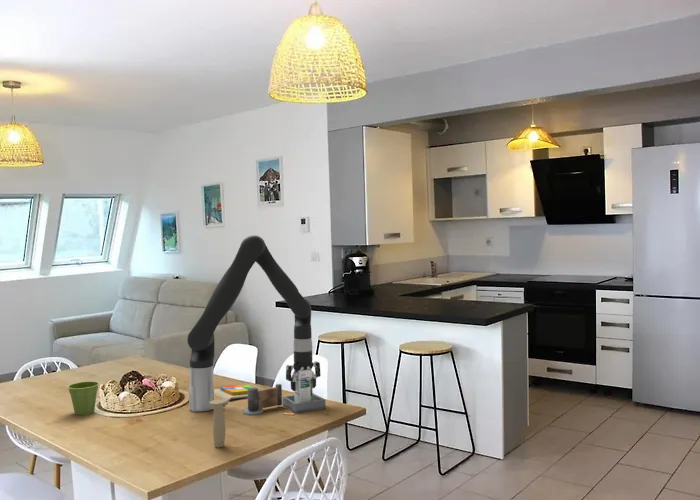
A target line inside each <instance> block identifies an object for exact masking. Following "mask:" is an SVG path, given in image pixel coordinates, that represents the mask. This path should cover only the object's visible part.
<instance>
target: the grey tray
mask: <svg viewBox="0 0 700 500" xmlns="http://www.w3.org/2000/svg"><path fill="white" fill-rule="evenodd" d="M282 406H283V407H285V408H286V409H287V410H290V411H291V412H292V413H294V414H300V413H305V412H311V411H317V410H322V409H326V399H325V398H323V397H321V396H319V395H318V394H315V393H314V392H313V401H309V402H303V403H295V398H294V394H291V395H285V396H284V395H283V396H282Z"/></svg>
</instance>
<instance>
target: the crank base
mask: <svg viewBox="0 0 700 500" xmlns="http://www.w3.org/2000/svg"><path fill="white" fill-rule="evenodd" d="M263 413H264V408H261V409H258V410H256V411H249V410H248V407H247V408H245V409H243V410H242V414H244V415H246V416H254V415H255V416H256V415H260V414H263ZM283 415H286V416H295V413H294V412H292V413H291V412H283Z"/></svg>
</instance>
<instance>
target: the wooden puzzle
mask: <svg viewBox="0 0 700 500" xmlns="http://www.w3.org/2000/svg"><path fill="white" fill-rule="evenodd" d="M249 388H258V390H263V389H264V388H261V387H259V386H256V385H254V384H252V383H248V384H239V385H237V384H236V385H235V384H234V385H222V386H220V388H214V397H217V398H218V399H227V400H228V402H230V401H231V400H235V399H245V398H246V399H248V389H249Z"/></svg>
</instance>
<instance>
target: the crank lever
mask: <svg viewBox="0 0 700 500" xmlns="http://www.w3.org/2000/svg"><path fill="white" fill-rule="evenodd" d="M262 389H263V390H258V388H249V389H248V397H247V408H248V410H249V411H256V410H258V409H261V408H262V409H265V408H271V407H277V406H278V407H279V406H283V395H282V394H283V393H282V390H283V386H282V384H281V383H279V384H278V383H277V384H275V387H269V388H262Z"/></svg>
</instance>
